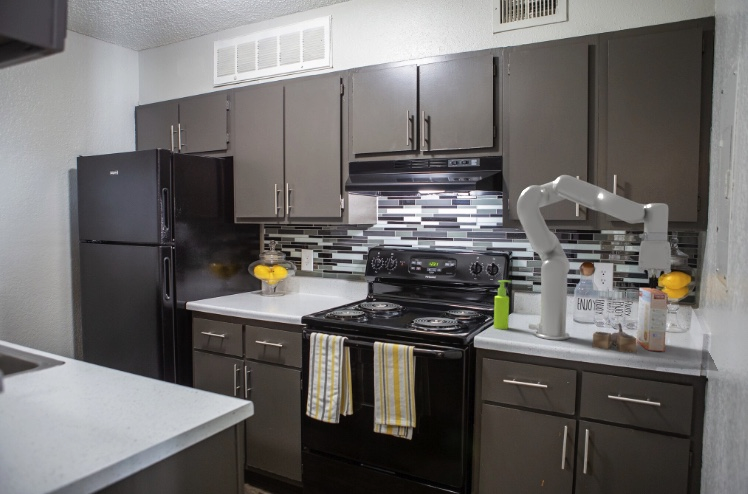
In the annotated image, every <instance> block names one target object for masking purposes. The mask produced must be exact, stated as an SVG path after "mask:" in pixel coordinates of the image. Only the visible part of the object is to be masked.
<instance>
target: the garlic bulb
mask: <svg viewBox="0 0 748 494" xmlns="http://www.w3.org/2000/svg"><path fill="white" fill-rule="evenodd" d="M617 335H629V334H628V333H626V332H624V331H623V329H622V323H621V322H619V323H618V332H613V333H611V343H612V344H613V346H617Z"/></svg>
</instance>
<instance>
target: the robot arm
mask: <svg viewBox="0 0 748 494" xmlns="http://www.w3.org/2000/svg"><path fill="white" fill-rule="evenodd" d="M563 200H569V201H570V202H573V203H576V204H579V205H580V206H583V207H585V208H587V209H590V210H592V211H597V212H600V213H603V214H606V215H609V216H611V217H614V218H616V219H619V220H620V221H624V222H626V223H627V224H633V225H634V224H640V223H644V224H643V228H644V229H643V233H639V234H638V235H639V236H638V237H639V239H642V241H641V242H640V245H639V246H640V247H639V254H638V267H637V272H639V273H644V274H645V275H646V276H647V277H648V286H649V287H650V288H651V289H653V288H654V289H657V287H659V279H660V278H661V276H663V275H664V274H670V273H671V272H672V270H671V269H672V268H671V267H672V266H671V265H672V252H671V251H672V250H671V243H670V241H668V228H669V227H668V226H669V224H668V223H669V206H668V204H667V203H660V202H659V203H658V202H657V203H655V202H653V203H648V204H644V203H638V202H636V201H634V200H630V199H627V198H625V197H623V196H620V195H618V194H615V193H612V192H611V191H608V190H606V189H604V188H603V187H600V186H598V185H595V184H592V183H590V182H588V181H584V180H582V179H579V178H577V177H575V176H571V175H568V174H561V175H560V176H558V177H556V179H555V180H553V181H550V182H547V183H544V184H541V185H538V184H535V185H529V186H528V187H526V188H525V189H524V190H523V191H522V192H521V194H520V195H519V197H518V200H517V202H516V212H517V217H518V219H519V222H520V224H521V227H522V228H523V230H524V233H525V235H526V237H527V239H528V242H529V244H530V247H531V249H532V251H534V252H535V253H536V254H538V256H539V258H540V260H541V262H542V264H541V268H540V280H541V281H540V283H541V285H540V286H541V287H540V288H541V289H540V290H541V291H540V318H539V319H540V320H539V323H537V324H533V323H529V324H528V329H529V330H533V331H534V330H535V331H536V332H535V336H537V337H538V338H542V339H546V340H552V341H553V340H555V341H556V340H559V341H563V340H564V341H565V340H568V339H570V333H568V332H567V331H566V330H567V328H566V327H567V326H566V325H567V301H568V297H567V296H568V293H567V292H568V273H569V272H570V269H571V264H570V261H569V259H568V257H567V255H566V253H565V251H564V249H563V246H562V245H561V242H560V240H559V239H558V236H557V235H556V234H555V233H554V232H552V231H551V230H550V229H549V227H548V226H547V224H546V223H547V222H546V221H545V219H544V217H543V214H542V213H541V211H540V208H543V207H545V206H549V205H552V204H555V203H558V202H562V201H563ZM653 270H656V271H655V275H653V272H652V271H653Z"/></svg>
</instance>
